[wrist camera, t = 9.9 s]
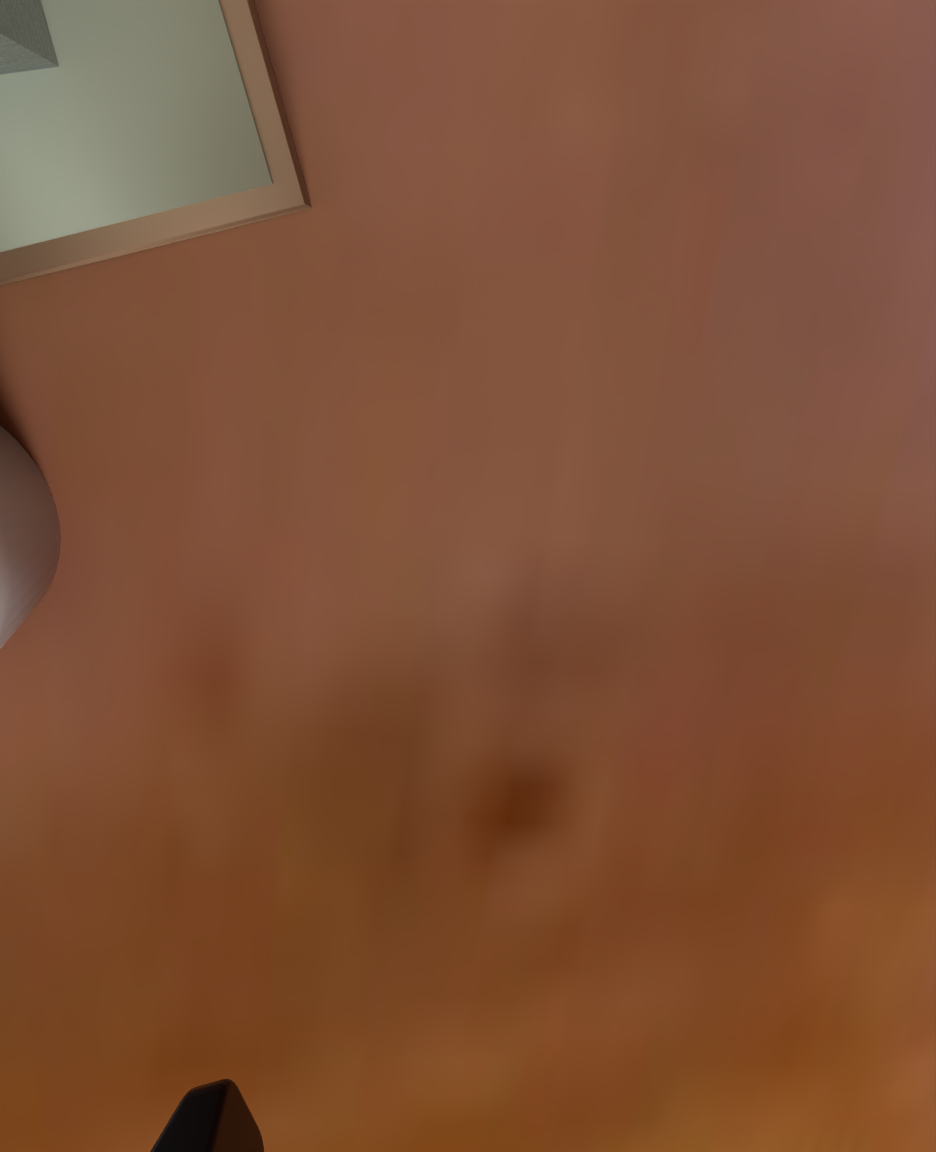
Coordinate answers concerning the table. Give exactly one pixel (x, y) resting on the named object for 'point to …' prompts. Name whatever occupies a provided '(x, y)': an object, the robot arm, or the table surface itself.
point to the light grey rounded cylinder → (24, 536)
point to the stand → (141, 134)
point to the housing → (24, 37)
